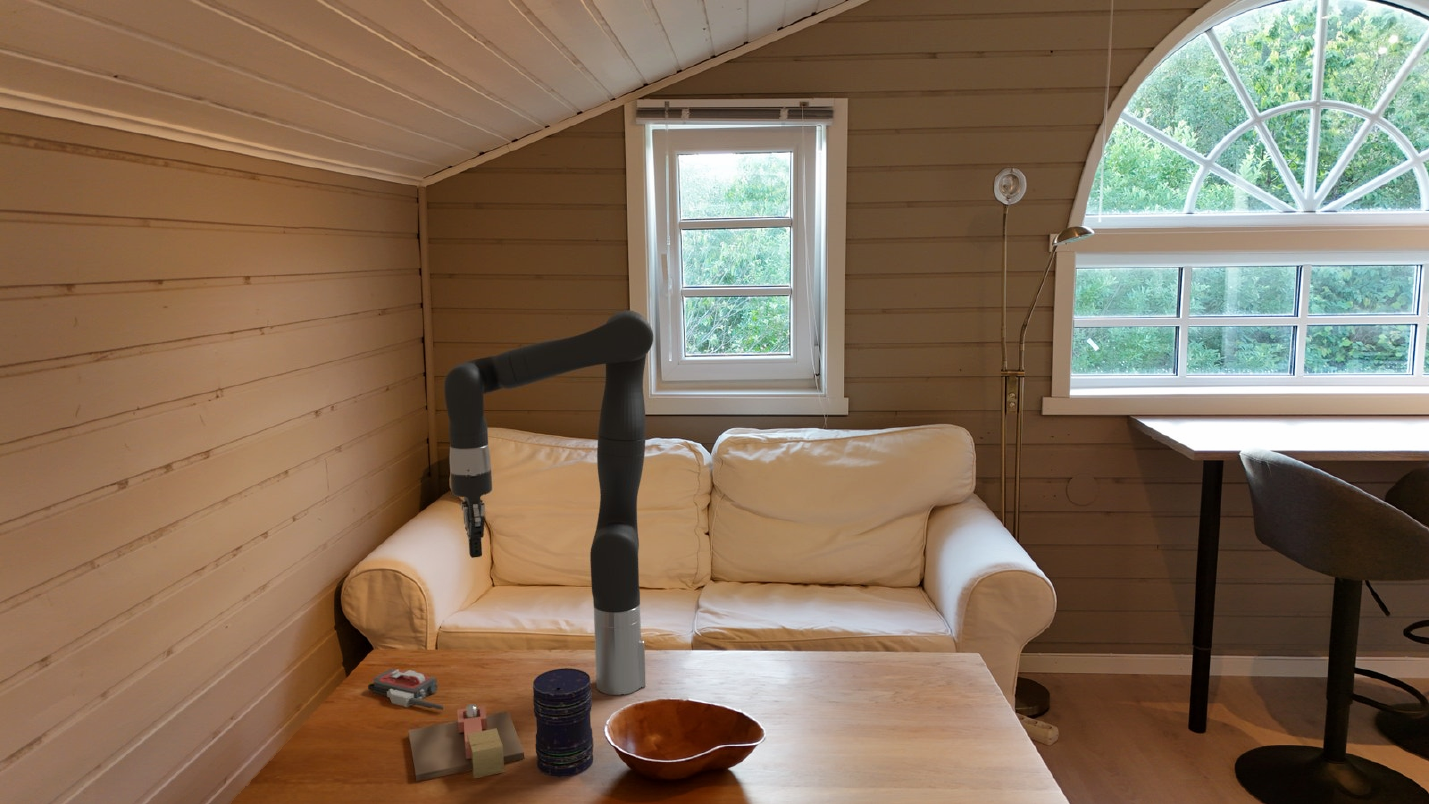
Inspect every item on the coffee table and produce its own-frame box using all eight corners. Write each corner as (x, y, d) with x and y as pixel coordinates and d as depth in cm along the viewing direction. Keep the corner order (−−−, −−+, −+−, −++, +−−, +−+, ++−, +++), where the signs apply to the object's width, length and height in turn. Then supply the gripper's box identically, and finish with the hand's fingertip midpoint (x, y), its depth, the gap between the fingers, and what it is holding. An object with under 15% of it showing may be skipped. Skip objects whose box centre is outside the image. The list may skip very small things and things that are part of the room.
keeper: (497, 753, 167) (496, 728, 166) (504, 772, 161) (502, 746, 160) (468, 759, 165) (467, 734, 164) (474, 778, 159) (472, 752, 158)
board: (508, 716, 180) (508, 710, 180) (524, 758, 165) (524, 752, 165) (408, 736, 173) (408, 730, 173) (416, 781, 159) (416, 775, 158)
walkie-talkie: (359, 698, 189) (439, 717, 181) (358, 677, 188) (438, 695, 180) (391, 679, 197) (469, 697, 189) (389, 659, 196) (468, 676, 188)
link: (457, 719, 176) (457, 709, 176) (485, 715, 177) (485, 705, 177) (460, 760, 162) (459, 749, 162) (490, 755, 164) (489, 744, 163)
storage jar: (543, 746, 169) (539, 667, 167) (598, 746, 169) (595, 667, 166) (530, 778, 159) (526, 694, 157) (589, 778, 159) (585, 694, 156)
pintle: (477, 728, 176) (475, 703, 175) (478, 733, 174) (477, 707, 173) (467, 730, 175) (465, 705, 174) (468, 735, 173) (466, 709, 173)
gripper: (446, 463, 185) (451, 548, 188) (454, 478, 173) (460, 569, 176) (485, 459, 188) (490, 543, 190) (496, 474, 175) (501, 564, 178)
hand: (475, 556), depth 183 cm, fingers closed
